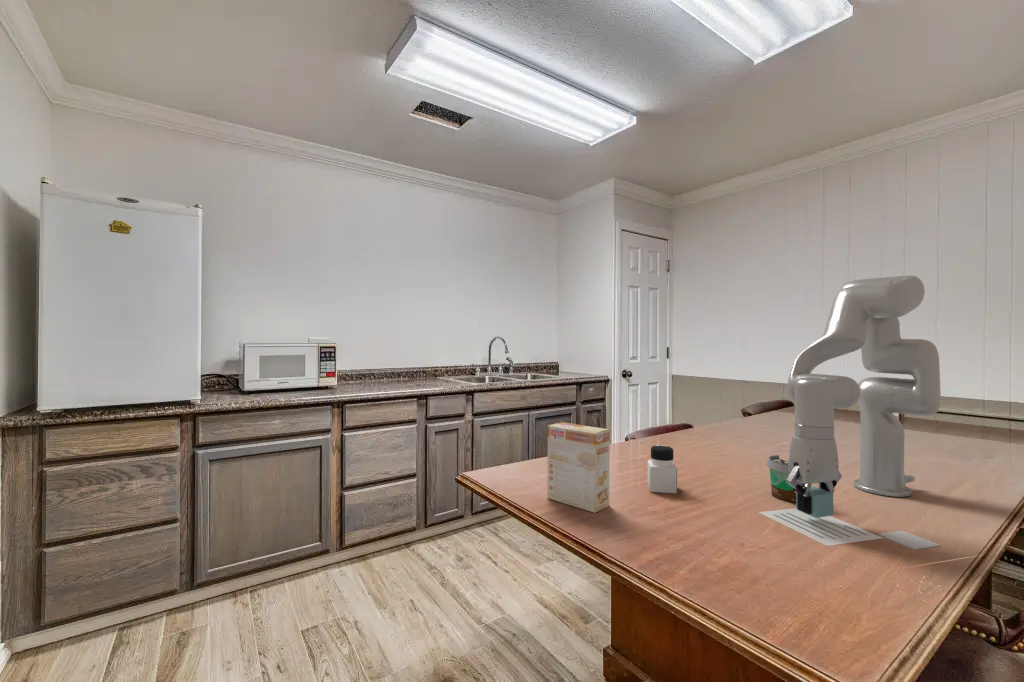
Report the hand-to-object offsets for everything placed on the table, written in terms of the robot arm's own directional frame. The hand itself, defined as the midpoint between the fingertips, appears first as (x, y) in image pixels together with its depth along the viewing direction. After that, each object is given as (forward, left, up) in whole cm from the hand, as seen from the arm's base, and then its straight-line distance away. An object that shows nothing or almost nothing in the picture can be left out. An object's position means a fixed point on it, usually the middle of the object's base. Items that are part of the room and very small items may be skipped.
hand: (814, 509), depth 103 cm
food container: (-6, -15, -3) cm, 16 cm away
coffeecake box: (+48, -25, -3) cm, 54 cm away
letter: (+1, +1, -3) cm, 3 cm away
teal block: (0, 0, -1) cm, 1 cm away
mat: (-11, +12, -3) cm, 17 cm away
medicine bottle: (+21, -29, -3) cm, 36 cm away
